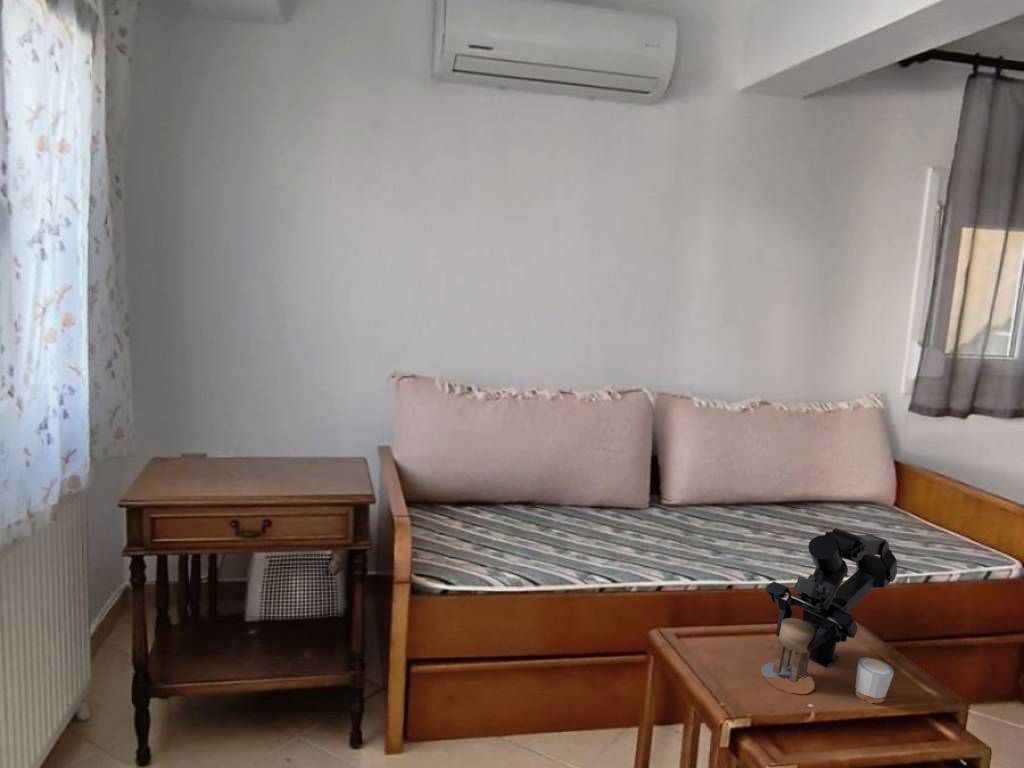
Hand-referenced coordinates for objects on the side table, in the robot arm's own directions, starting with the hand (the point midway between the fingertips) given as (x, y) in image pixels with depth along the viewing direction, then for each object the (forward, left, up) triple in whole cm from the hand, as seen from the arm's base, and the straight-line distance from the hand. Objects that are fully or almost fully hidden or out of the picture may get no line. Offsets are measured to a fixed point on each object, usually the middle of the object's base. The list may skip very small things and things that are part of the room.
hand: (792, 642), depth 165 cm
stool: (-1, 0, -8) cm, 8 cm away
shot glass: (-11, +13, -9) cm, 20 cm away
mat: (-1, 0, -9) cm, 9 cm away
